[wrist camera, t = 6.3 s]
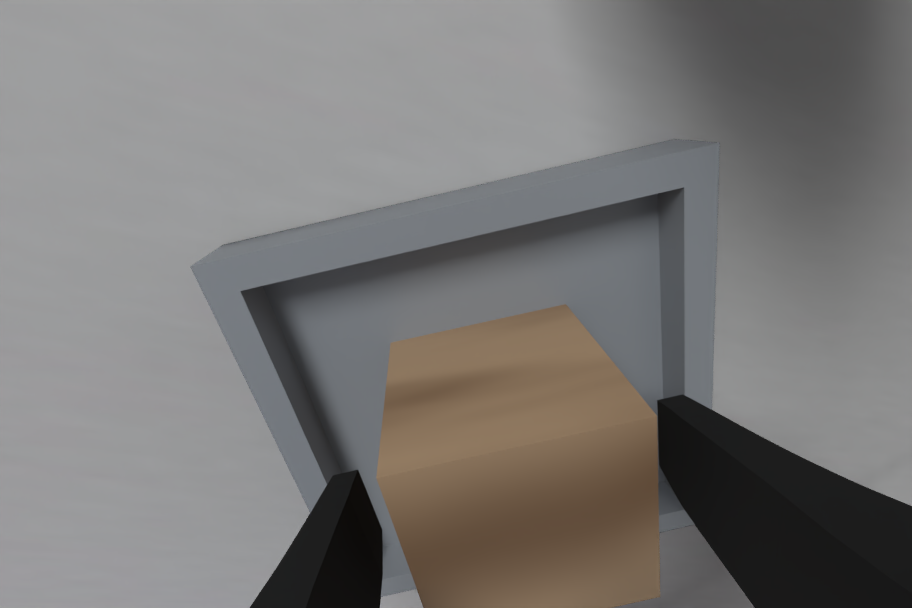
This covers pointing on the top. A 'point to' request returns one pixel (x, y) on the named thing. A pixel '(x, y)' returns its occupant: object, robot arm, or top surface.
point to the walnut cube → (520, 467)
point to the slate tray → (472, 298)
